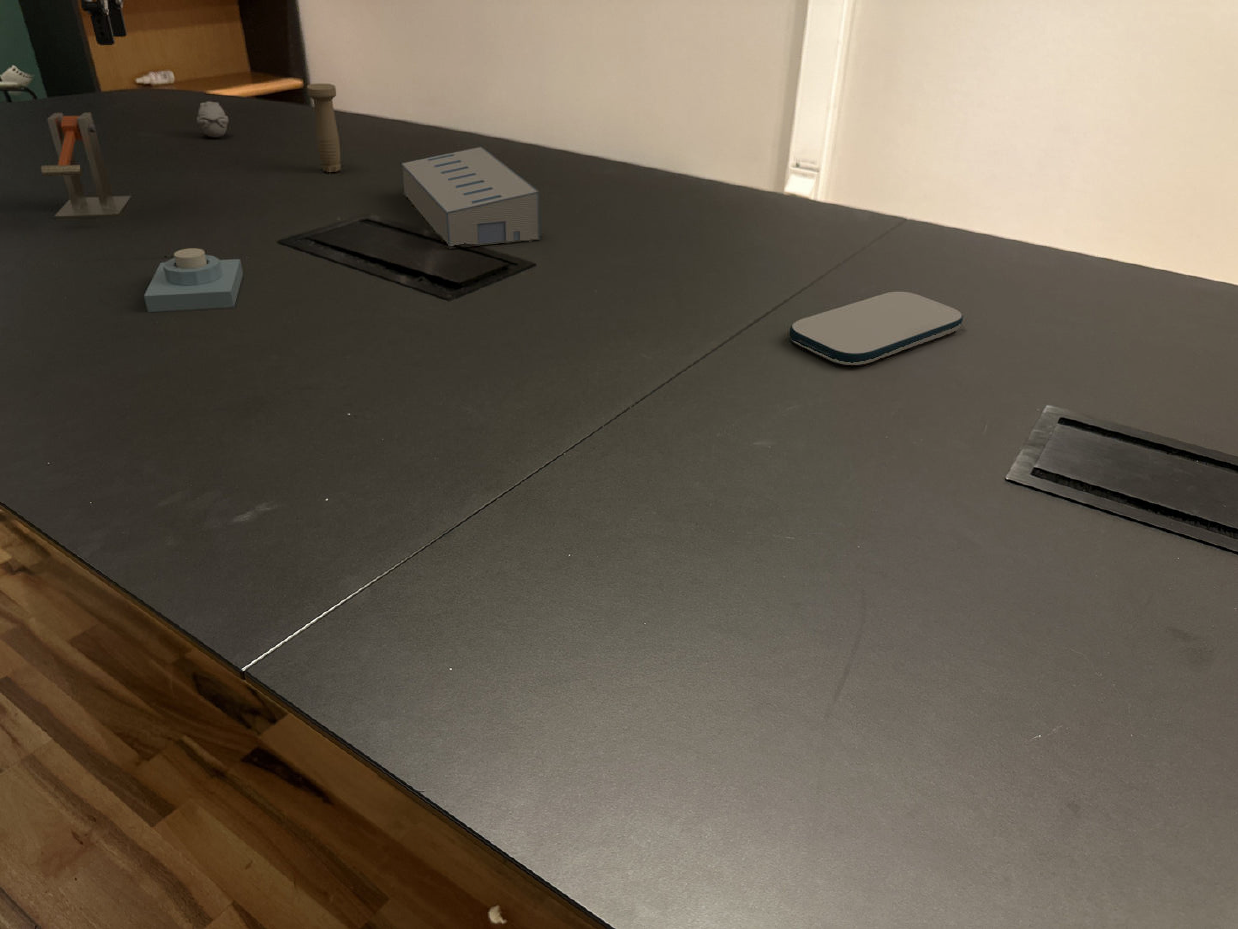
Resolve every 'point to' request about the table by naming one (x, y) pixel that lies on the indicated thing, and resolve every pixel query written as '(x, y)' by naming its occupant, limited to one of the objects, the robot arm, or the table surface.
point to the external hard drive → (874, 326)
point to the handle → (326, 125)
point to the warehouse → (472, 198)
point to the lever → (66, 150)
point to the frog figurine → (212, 119)
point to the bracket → (105, 201)
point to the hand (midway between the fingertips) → (113, 40)
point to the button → (190, 258)
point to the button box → (194, 286)
